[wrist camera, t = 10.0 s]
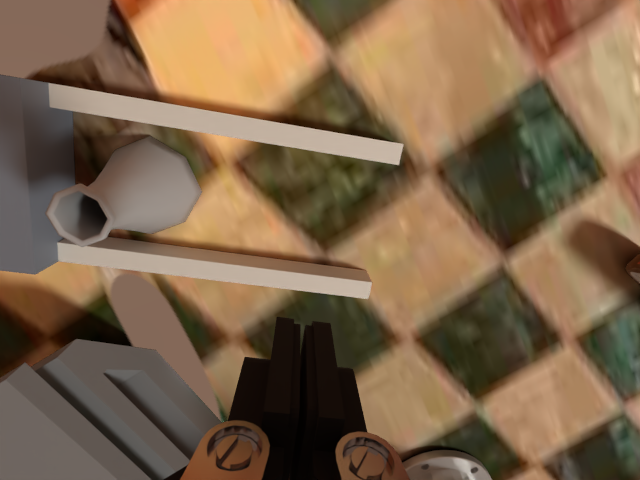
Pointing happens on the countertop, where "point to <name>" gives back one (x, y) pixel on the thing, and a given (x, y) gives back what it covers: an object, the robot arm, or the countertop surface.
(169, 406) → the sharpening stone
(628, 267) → the tin
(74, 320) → the countertop surface
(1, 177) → the stop block
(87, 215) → the flask
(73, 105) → the guide rails
